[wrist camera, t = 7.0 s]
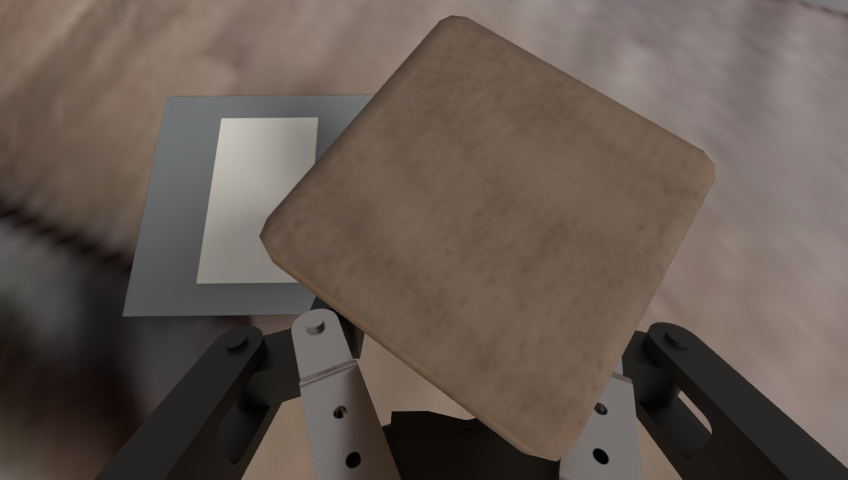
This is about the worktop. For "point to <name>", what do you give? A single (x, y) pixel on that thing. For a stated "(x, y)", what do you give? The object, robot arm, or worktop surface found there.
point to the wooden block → (494, 229)
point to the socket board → (227, 202)
